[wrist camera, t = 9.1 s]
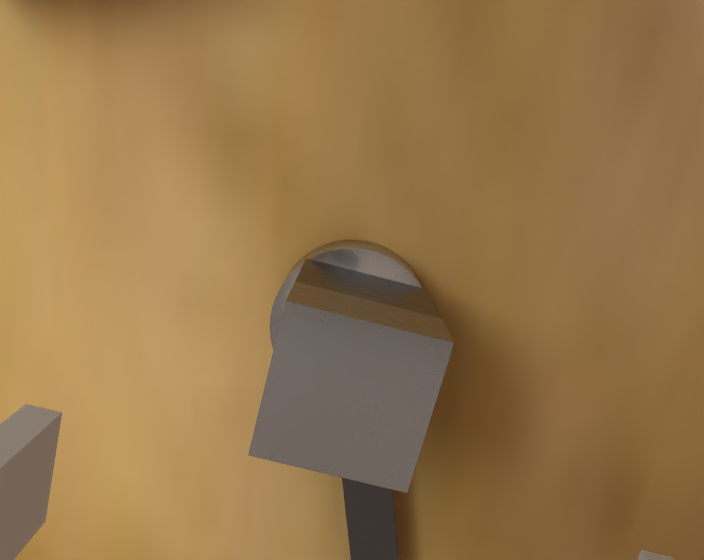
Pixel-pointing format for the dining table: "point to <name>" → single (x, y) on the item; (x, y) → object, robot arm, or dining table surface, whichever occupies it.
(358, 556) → the metal ladle
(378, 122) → the dining table surface
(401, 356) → the grey rectangular block
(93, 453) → the dining table surface
